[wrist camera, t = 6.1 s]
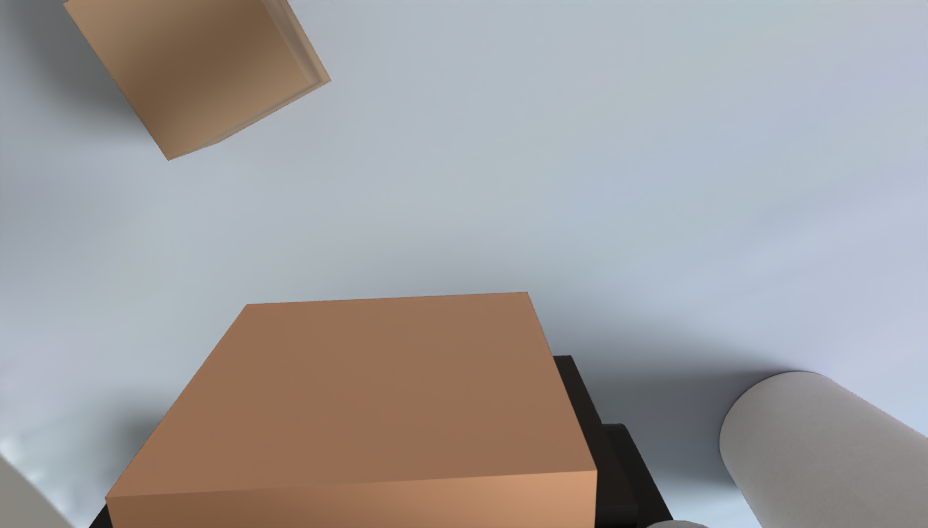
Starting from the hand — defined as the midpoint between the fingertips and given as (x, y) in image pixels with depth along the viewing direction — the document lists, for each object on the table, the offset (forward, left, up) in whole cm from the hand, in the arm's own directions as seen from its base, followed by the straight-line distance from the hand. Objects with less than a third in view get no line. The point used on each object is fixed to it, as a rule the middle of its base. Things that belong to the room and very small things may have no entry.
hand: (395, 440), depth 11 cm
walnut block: (-7, -6, -15) cm, 18 cm away
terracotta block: (0, 0, -1) cm, 1 cm away
